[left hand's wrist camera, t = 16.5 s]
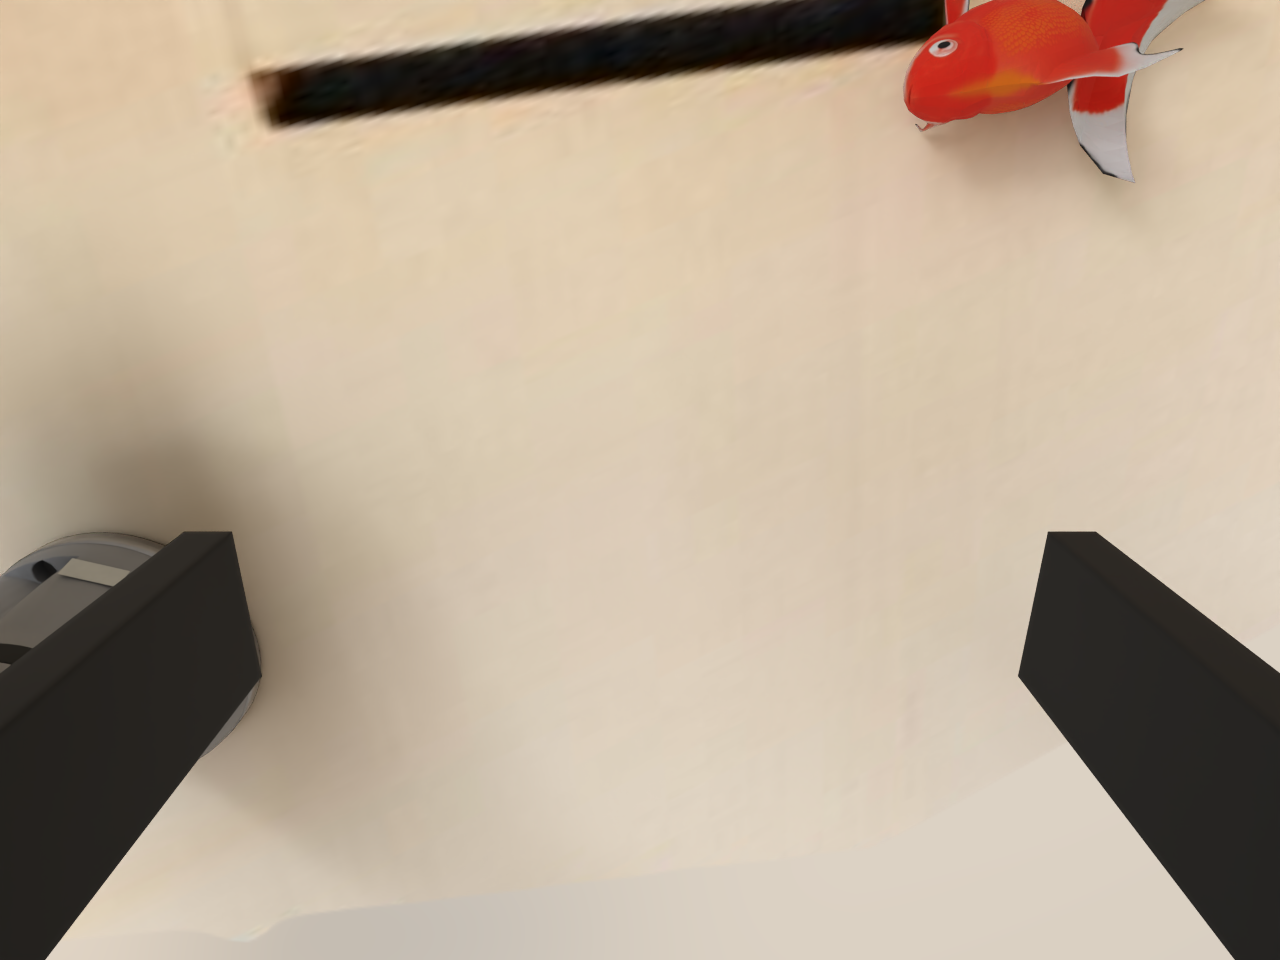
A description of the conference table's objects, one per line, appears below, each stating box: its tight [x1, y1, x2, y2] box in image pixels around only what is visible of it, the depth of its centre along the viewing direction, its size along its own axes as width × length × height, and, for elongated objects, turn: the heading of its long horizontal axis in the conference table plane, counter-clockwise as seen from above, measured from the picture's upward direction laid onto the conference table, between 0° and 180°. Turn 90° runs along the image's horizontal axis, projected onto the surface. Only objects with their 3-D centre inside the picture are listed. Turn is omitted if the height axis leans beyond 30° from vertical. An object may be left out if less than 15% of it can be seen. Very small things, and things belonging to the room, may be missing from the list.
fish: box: [903, 0, 1204, 183], centre depth 32 cm, size 11×16×10 cm
